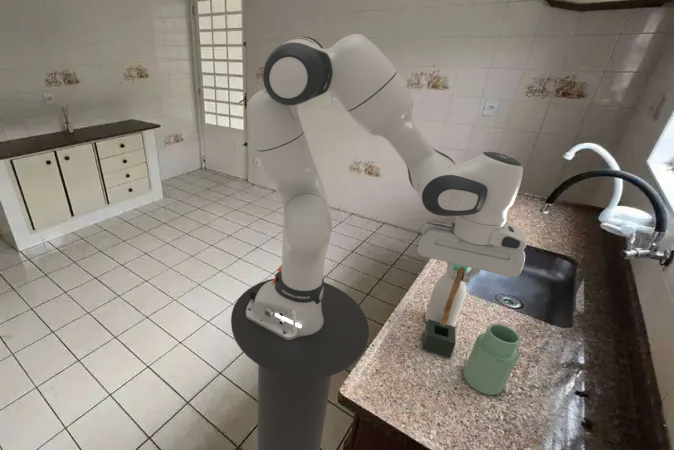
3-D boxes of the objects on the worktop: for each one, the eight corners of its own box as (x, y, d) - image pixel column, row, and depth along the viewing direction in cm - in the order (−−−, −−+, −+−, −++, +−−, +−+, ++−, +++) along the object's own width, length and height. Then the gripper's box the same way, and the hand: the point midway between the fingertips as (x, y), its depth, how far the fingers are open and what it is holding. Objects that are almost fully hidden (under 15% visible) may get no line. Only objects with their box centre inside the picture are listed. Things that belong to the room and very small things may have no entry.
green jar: (463, 386, 81) (484, 339, 74) (462, 361, 87) (481, 316, 80) (504, 400, 78) (529, 353, 71) (500, 373, 84) (523, 327, 77)
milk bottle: (453, 335, 95) (475, 276, 85) (422, 325, 98) (440, 266, 89) (455, 318, 101) (476, 261, 91) (426, 309, 104) (443, 252, 95)
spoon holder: (422, 349, 91) (427, 335, 89) (423, 332, 96) (428, 319, 94) (450, 357, 88) (455, 343, 86) (450, 340, 93) (455, 326, 91)
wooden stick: (439, 324, 88) (459, 269, 80) (439, 318, 90) (459, 264, 82) (445, 326, 87) (466, 271, 79) (445, 320, 89) (465, 265, 81)
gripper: (424, 223, 77) (409, 274, 84) (536, 245, 69) (511, 300, 76) (425, 212, 82) (412, 261, 89) (530, 231, 74) (507, 283, 81)
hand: (458, 279), depth 82 cm, fingers closed on wooden stick, 1 cm apart
